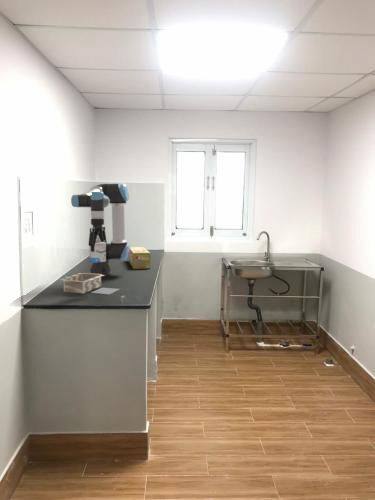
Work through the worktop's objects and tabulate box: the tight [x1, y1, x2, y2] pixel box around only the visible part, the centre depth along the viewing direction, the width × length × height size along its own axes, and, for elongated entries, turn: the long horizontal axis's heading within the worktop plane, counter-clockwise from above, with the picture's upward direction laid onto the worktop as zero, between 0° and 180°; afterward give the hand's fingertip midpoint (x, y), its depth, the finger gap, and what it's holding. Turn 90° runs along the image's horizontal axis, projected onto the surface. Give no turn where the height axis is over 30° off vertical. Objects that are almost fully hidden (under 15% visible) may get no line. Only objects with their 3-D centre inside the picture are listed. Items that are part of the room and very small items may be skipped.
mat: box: [90, 287, 121, 296], centre depth 251 cm, size 14×12×1 cm
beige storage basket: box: [59, 272, 106, 295], centre depth 256 cm, size 25×18×7 cm
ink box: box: [89, 236, 106, 264], centre depth 249 cm, size 9×5×15 cm, turn 139°
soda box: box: [128, 246, 151, 270], centre depth 346 cm, size 40×14×13 cm, turn 13°
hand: (97, 256), depth 250 cm, fingers closed on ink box, 9 cm apart
